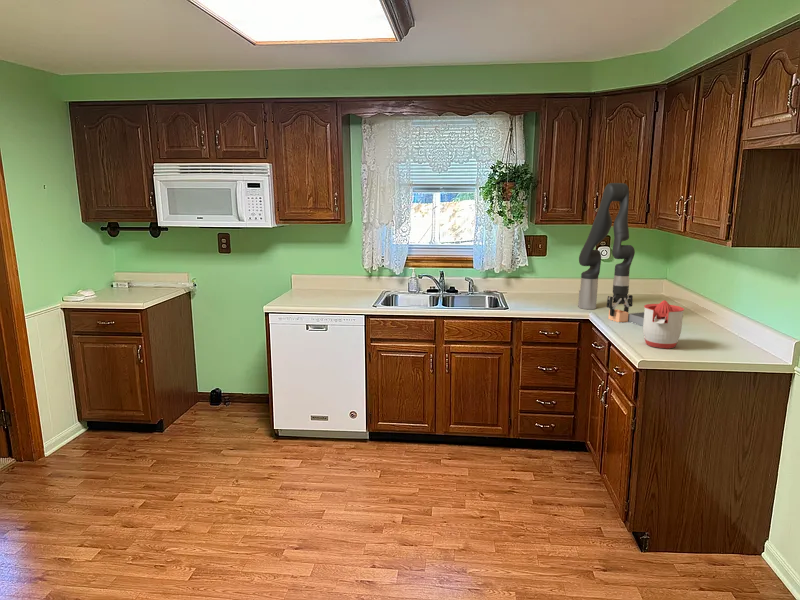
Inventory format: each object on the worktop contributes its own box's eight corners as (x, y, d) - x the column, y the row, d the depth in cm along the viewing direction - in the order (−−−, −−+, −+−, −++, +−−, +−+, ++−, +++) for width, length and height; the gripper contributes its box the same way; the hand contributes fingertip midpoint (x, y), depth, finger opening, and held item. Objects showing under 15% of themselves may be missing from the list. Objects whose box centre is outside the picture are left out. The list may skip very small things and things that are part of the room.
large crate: (626, 321, 288) (627, 313, 287) (648, 319, 292) (649, 311, 291) (644, 326, 276) (644, 318, 276) (666, 324, 281) (667, 316, 280)
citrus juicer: (636, 347, 240) (640, 301, 236) (644, 338, 254) (648, 295, 250) (676, 353, 231) (681, 306, 227) (682, 344, 245) (687, 299, 241)
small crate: (608, 319, 291) (609, 310, 290) (616, 318, 293) (617, 309, 292) (618, 322, 284) (619, 313, 283) (627, 321, 286) (628, 312, 285)
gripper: (627, 282, 291) (624, 313, 294) (604, 284, 286) (602, 315, 289) (637, 284, 284) (635, 315, 287) (614, 286, 279) (612, 317, 282)
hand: (618, 315), depth 288 cm, fingers open, 8 cm apart
